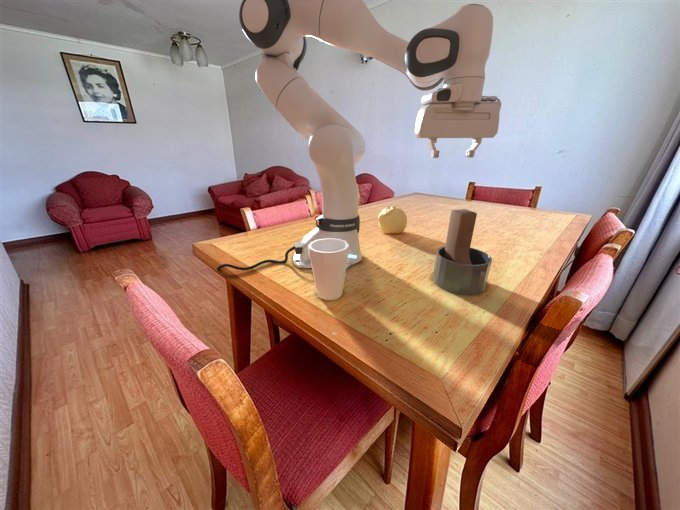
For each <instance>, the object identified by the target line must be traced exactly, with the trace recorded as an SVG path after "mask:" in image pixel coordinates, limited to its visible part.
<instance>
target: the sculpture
mask: <svg viewBox="0 0 680 510" xmlns="http://www.w3.org/2000/svg"><path fill="white" fill-rule="evenodd" d="M407 217H408V216H407V214H406V212H405V211H404V210H403V209H402V208H399V207H396V206H395V205H393V206H385V208H383V209H382V210H381V212H380V213H378V217H377V224H378V229H380V230H381V231H382V233H384V234H401V233H403V232H404V231H405V229H406V228H407V224H408V218H407Z"/></svg>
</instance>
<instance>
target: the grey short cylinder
mask: <svg viewBox="0 0 680 510" xmlns="http://www.w3.org/2000/svg"><path fill="white" fill-rule="evenodd" d="M445 245H446V244H444V245H443V246H442V247H440V248H438V249H437V250H436V253H435V261H434V267H433V273H432V280H433V282H434V284H435V285H436V286H438V287H439V288H441V289H443V290H444V291H447V292H450V293H454V294H458V295H466V296H468V295H469V296H471V295H477V294H480V293H482V292H484V291H485V289H486V286H487V282H488V278H489V274H490V269H491V266H492V262H493V258H492V256H491V255H490V254H488V253H487V252H485V251H483V250H480V249H479V248H478V249H477V248H474V247H470V253H469V257H470V260H471V263H472V265H467V264H460V263H456V262H453V261H449V260H447V259H445V258H444V252H445Z"/></svg>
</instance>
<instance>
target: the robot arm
mask: <svg viewBox="0 0 680 510" xmlns="http://www.w3.org/2000/svg"><path fill="white" fill-rule="evenodd" d="M238 16H239V18H238V19H239V23H240V27H241V29H242V31H243V33H244V35H245V36H246V38H247V39H248V41H249V42H250V43H251V44H252V45H253V46H255V47H256V48H258V49H259V50H260V51H261V52H262V55H261V61H260V62H259V63H258V65H257V67H256V70H255V82H256V85H257V86H258V88H259V90H260V91H261V92H262V94H263V95H264V97H265V98H266V100H267V102H268V103H270V104H271V106H272V107H273V108H274V109H275V110H276V112H278V114H279V115H280V116H281V117H283V119H284V120H285V121H286V122H287V123H288V124H289V125H290V126H291V127H292V128H293V129H294V130H295V131H296V133H298V134H300V135H301V136H303V137H304V138H306V139H307V140H308V146H307V149H308V151H307V152H308V154H309V158H310V160H311V161H312V162H313V164H314V165H315V168H316V173H317V176H318V181H319V185H320V193H321V212H322V214H319V213H315V214H314V221H315V226H316V227H314V228H313V229H312V230H311V231H309V232H308V233H307V234H305V235H304V236H303V237H302V238H301V240H299V241H294V242H293V246H292V247H290V248H289V249H287V250H286V252H285V253H284V259H283V260H275V259H265V260H261V261H259V262H257V263H255V264H252V265H250V266H237V265H234V264H230V263H222V264H220V265H218V267H217V268H216V270H221V269H222V268H225V267H227V268H231V269H234V270H239V271H248V270H253V269H255V268H257V267H258V266H260V265H263V264H266V263H272V264H285V263H287V262H288V261H289V253H291V252H292V251H294V254H293V257H292V260H293V261H292V262H293V266H295V268H296V267H297V268H299V269H312V265H311V260H310V257H309V252H308V245H309V244H310V243H311V242H313V241H315V240H318V239H324V238H335V239H341V240H344V241H346V242H347V243H348V244H349V255H348V258H347V265H346V270H347V269H349V268H350V267H351V266H353V265H355V264H358V263H359V262H361V261H362V260H363V254H362V250H361V246H360V245H361V243H360V237H359V233H360V230H361V218H360V214H359V199H360V198H359V197H360V195H359V193H360V190H359V187H358V183H357V178H356V177H357V176H356V170H355V165H357V164H358V163H359V162H360V161H361V159H362V158H363V156H364V154H365V151H366V140H365V138H364V136H363V135H362V134H361V133H360V131H358V129H356V127H354V126H353V125H352V124H351V123H350V122H349V121H348V120H347V119H346V118H345V117H344V116H343V115H341V113H340V112H339V111H337V110H336V109H335V108H334V107H332V105H330V104H329V103H328V102H327V101H325V100H324V99H323V97H322V96H321V95H320V93H318V92H317V91H316V90H315V89H314V88H313V87H312V85H310V84H309V82H307V80H305V78H304V77H303V76H302V75H301V73H299V72H298V71H299V68H300V65H301V63H302V62H303V61H304V58H305V56H306V53H307V47H308V45H307V43H308V42H307V39H306V37H312V38H315V39H317V40H319V41H320V42H324V43H325V44H327V45H330V46H332V47H335V48H338V49H342V50H345V51H349V52H353V53H357V54H360V55H363V56H366V57H370V58H372V59H374V60H377V61H379V62H381V63H383V64H384V65H386V66H389V67H391V68H393V69H395V70H397V71H399V72H401V73H402V74H403V75H404V76H406V78H407V79H408V80H409V82H410V83H411V85H412V86H413V87H414V88H415V89H416V90H419V91H422V92H423V91H430V90H433V91H431V92H428V93H426V94H424V95H423V96H422V97H421V105H422V107H421V106H420V108H419V110H418V113H417V116H416V120H415V125H414V135H415V137H416V138H417V139H427V145H428V148H429V149H430V159H438V158H439V157H440V150H437V148H436V144H437V142H438V139H471V143H472V144H471V146H470V148H469V149H465V155H464V156H465V158H468V159H469V158H470V159H471V158H474V157H475V154H476V150H477V149H478V148H479V147H480V146H481V143H482V140H483V139H493V138H495V137H496V135H498V132H499V126H500V114H501V113H500V112H501V108H502V101H501V100H500V99H499V98H498V96H497V95H491V96H489V95H483V92H484V87H485V80H486V65H487V62H488V60H489V57H490V53H491V47H492V40H493V39H492V38H493V31H494V17H493V16H494V15H493V13H492V11H491V10H490V9H489V8H488V7H487V6H485V5H482V4H478V3H470V4H469V3H468V4H465V5H462V6H460V7H458V8H457V9H456V10H455V12H453V14H451V15H450V16H449V17H447V18H446V19H445V20H443V21H441V22H439V23H438V24H436V25H433V26H430V27H427V28H424V29H422V30H420V31H419V32H417V33H415V35H414V36H413V37H412V38H411V39H410V41H408V40H405V39H403V38H401V37H399V36H397V35H395V34H393V33H392V32H389V31H388V30H387V29H386V28H384V27H383V26H382V25H381V24H380V23H379V22H378V20H377V19H376V18H375V17H374V15H373V13H372V12H371V10H370V9H369V7H368V6H367V5H366V3H365V1H363V0H242V1H241V3H240V6H239V12H238ZM442 82H443V85H442V87H440V88H438V86H439V85H440V84H442ZM435 88H437V89H435ZM434 89H435V90H434Z"/></svg>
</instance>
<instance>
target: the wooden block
mask: <svg viewBox="0 0 680 510" xmlns="http://www.w3.org/2000/svg"><path fill="white" fill-rule="evenodd" d="M477 214H478V213H477V212H475V211H472V210H469V209H467V208H463V209H452V210H451V211H450V216H449V221H448V228H447V234H446V240H445V244H444V245H445V252H444V258H445V259H447V260H449V261H453V262H456V263H460V264H467V265H472V263H471V260H470V257H469V253H470V248H471V245H472V241H473V236H474V230H475V227H476V220H477V216H478V215H477Z"/></svg>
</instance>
